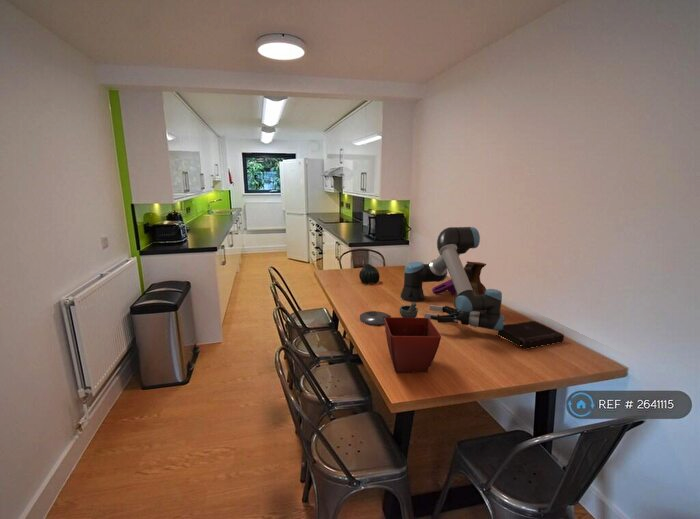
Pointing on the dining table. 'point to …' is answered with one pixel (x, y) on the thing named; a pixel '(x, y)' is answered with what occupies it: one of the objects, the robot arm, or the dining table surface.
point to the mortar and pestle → (409, 311)
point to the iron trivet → (374, 318)
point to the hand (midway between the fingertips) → (427, 311)
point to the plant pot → (411, 343)
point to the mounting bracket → (445, 288)
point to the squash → (369, 274)
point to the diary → (530, 334)
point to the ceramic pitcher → (473, 279)
